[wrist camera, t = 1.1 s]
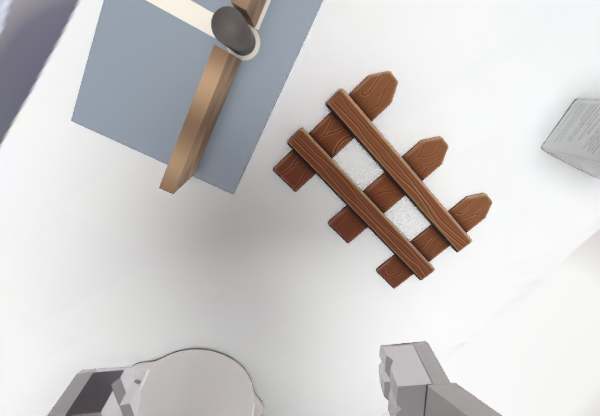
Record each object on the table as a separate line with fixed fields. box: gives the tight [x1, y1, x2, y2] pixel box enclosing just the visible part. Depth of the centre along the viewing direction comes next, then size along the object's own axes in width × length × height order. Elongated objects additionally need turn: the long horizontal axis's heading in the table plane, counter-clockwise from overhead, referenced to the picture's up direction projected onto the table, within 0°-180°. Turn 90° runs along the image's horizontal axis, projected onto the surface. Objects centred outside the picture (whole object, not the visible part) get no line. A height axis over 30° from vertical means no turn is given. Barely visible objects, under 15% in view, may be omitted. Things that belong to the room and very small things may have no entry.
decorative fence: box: [273, 71, 492, 288], centre depth 36 cm, size 23×2×15 cm
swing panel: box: [159, 45, 242, 194], centre depth 28 cm, size 12×1×7 cm, turn 153°
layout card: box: [71, 0, 323, 194], centre depth 29 cm, size 28×17×1 cm, turn 153°
